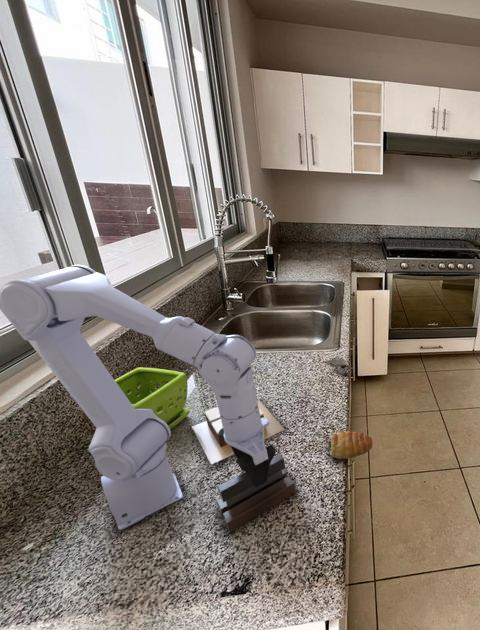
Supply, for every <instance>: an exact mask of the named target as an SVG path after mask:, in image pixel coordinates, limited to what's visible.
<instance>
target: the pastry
mask: <svg viewBox="0 0 480 630" xmlns="http://www.w3.org/2000/svg"><path fill="white" fill-rule="evenodd" d="M330 442H331V443H330V451H329V455H330V456H331V457H332V458H335V459H337V460H342V459H346V460H347V459H352V458H356V457H358V456H362V455H365V454H367V453H369V451H370V450H372V448H373V438H372V436H370V435H368V434H366V433H364V432H358V431H356V430H355V431H351V430H347V431H344V430H340V431H339V432H337V433H335V432H334V433H332V434H331V438H330Z"/></svg>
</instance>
